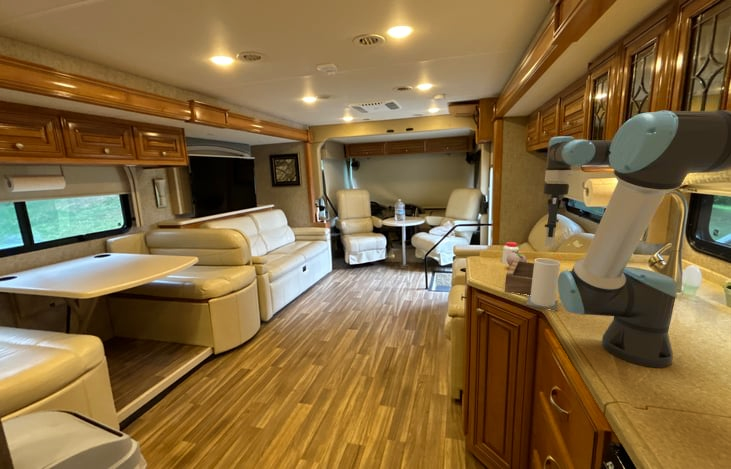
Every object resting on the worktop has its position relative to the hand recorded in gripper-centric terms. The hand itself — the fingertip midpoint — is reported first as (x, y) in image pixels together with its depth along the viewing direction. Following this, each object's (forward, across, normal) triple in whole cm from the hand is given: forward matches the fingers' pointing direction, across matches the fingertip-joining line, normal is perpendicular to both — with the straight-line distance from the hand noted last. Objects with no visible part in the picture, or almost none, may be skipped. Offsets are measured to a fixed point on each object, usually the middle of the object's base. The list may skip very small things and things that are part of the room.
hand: (549, 242), depth 119 cm
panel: (+24, 0, 0) cm, 24 cm away
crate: (+24, +19, +6) cm, 31 cm away
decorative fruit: (+24, +41, +14) cm, 50 cm away
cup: (+23, 0, 0) cm, 23 cm away
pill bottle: (+24, +53, +18) cm, 61 cm away
